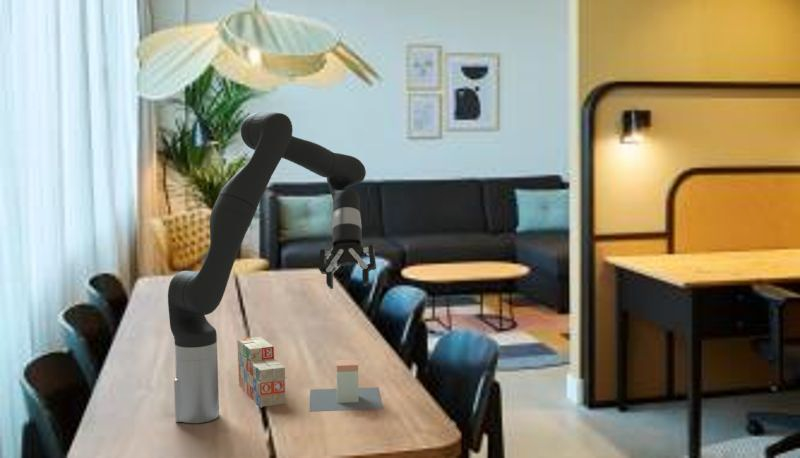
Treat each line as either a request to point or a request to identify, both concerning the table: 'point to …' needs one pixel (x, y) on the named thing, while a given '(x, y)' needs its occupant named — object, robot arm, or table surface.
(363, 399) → the charcoal mat
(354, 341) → the table surface
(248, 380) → the stack of blocks
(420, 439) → the table surface
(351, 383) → the sage block
